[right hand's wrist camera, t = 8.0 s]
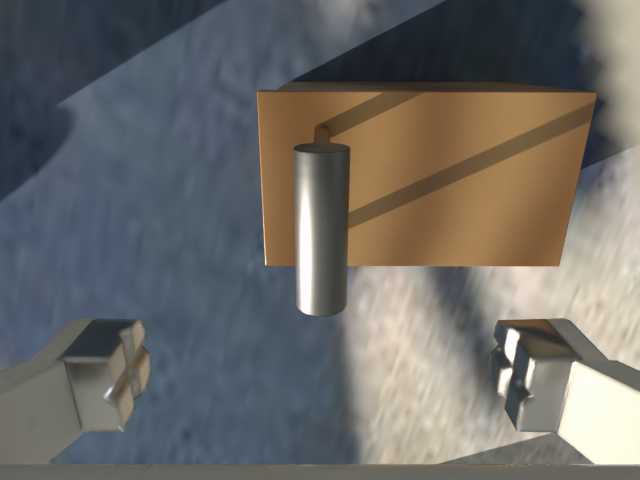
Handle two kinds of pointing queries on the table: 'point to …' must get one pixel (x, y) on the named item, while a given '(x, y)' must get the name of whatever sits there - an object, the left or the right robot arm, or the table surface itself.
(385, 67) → the table surface
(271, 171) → the lid
